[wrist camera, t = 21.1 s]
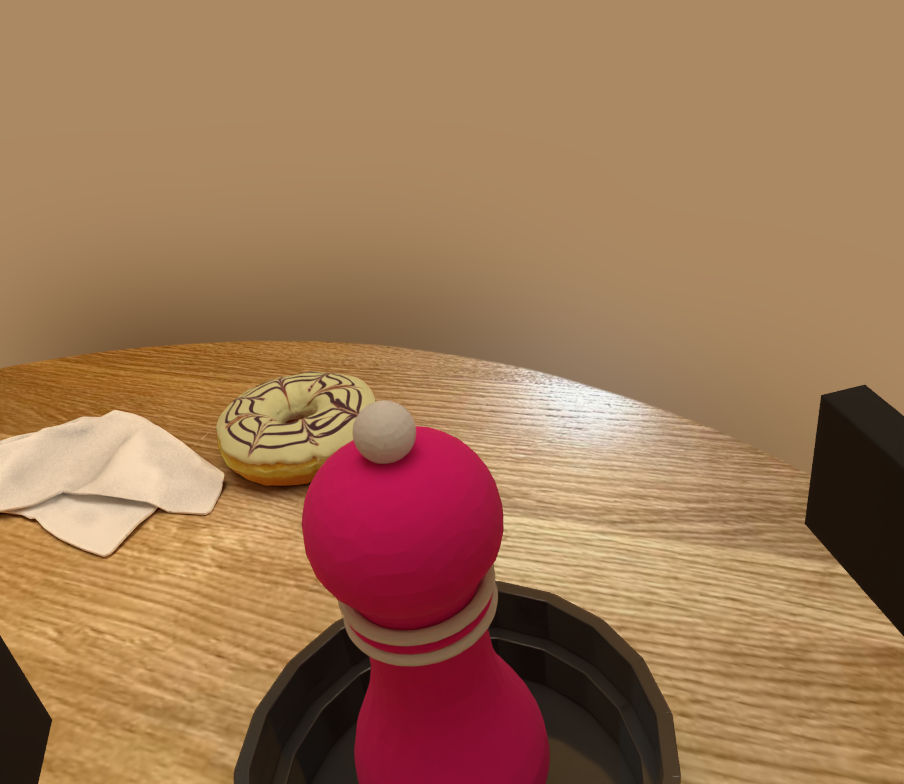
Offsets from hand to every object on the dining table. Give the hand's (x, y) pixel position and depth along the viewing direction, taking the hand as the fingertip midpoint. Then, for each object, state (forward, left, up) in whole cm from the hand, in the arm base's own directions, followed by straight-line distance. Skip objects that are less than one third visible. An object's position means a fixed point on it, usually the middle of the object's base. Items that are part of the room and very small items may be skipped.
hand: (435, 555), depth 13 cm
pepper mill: (0, -10, -23) cm, 25 cm away
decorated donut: (+5, -39, -24) cm, 46 cm away
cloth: (+21, -42, -24) cm, 53 cm away
